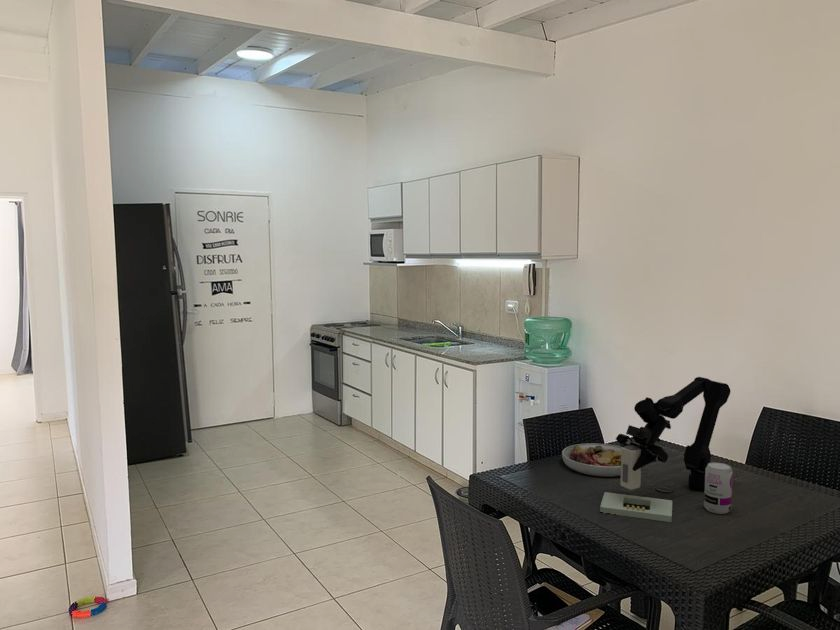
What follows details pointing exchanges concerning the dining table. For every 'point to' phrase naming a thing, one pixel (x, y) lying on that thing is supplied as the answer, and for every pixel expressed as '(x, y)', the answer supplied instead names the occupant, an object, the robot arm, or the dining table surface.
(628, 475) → the grey tall block
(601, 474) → the bowl
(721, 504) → the supplement can
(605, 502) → the board
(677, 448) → the dining table surface
